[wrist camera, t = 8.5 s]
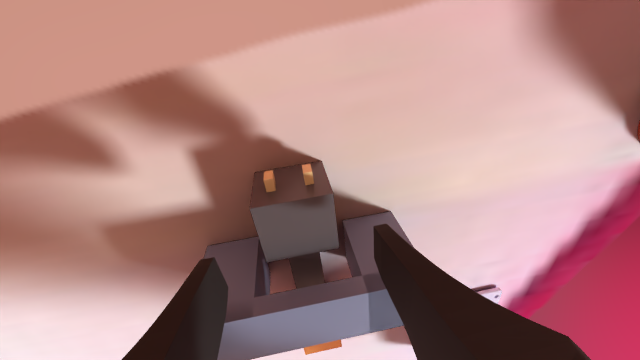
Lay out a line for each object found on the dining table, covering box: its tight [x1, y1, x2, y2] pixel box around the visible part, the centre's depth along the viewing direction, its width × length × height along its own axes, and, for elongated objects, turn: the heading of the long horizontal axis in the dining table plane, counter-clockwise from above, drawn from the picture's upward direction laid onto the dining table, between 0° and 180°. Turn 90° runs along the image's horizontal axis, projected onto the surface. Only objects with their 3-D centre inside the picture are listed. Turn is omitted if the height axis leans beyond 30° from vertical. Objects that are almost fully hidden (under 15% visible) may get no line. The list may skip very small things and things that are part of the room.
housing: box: [204, 211, 414, 360], centre depth 18 cm, size 4×14×6 cm, turn 97°
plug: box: [250, 161, 342, 355], centre depth 19 cm, size 16×4×4 cm, turn 7°
